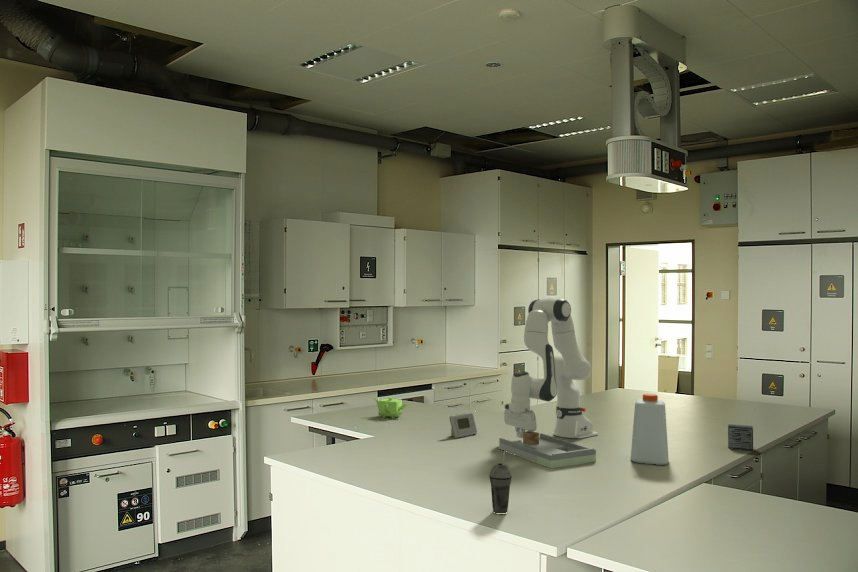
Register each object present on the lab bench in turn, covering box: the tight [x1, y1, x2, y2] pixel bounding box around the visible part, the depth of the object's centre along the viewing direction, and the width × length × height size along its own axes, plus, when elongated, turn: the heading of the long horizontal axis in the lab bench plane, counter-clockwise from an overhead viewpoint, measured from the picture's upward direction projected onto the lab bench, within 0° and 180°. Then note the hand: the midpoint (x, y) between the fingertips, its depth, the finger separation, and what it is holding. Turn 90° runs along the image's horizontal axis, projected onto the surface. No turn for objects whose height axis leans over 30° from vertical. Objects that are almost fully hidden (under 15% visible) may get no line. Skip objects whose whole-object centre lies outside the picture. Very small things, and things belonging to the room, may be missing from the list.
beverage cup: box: [488, 450, 513, 513], centre depth 211 cm, size 7×7×20 cm
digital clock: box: [449, 412, 478, 439], centre depth 326 cm, size 16×9×11 cm, turn 123°
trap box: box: [498, 433, 597, 469], centre depth 288 cm, size 24×36×6 cm, turn 29°
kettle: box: [373, 396, 408, 420], centre depth 373 cm, size 15×14×11 cm
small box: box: [727, 423, 754, 452], centre depth 306 cm, size 11×6×10 cm, turn 65°
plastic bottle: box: [630, 393, 669, 466], centre depth 281 cm, size 15×15×28 cm
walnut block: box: [522, 430, 540, 445], centre depth 297 cm, size 5×5×5 cm
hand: (520, 437), depth 304 cm, fingers closed
